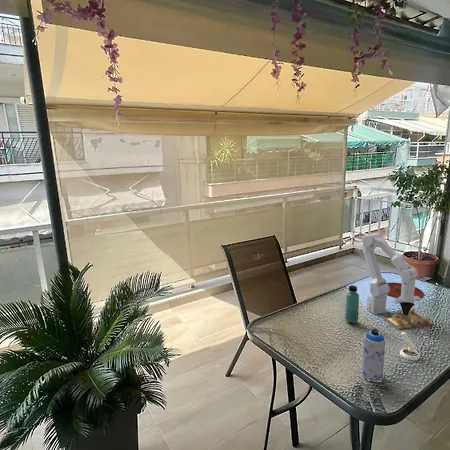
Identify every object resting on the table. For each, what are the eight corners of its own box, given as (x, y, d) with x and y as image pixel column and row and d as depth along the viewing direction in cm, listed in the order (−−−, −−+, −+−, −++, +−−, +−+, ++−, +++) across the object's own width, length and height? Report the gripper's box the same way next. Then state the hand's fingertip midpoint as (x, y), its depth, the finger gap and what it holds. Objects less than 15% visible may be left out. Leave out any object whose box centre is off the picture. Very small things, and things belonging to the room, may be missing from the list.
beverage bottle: (350, 326, 157) (351, 289, 153) (342, 320, 163) (343, 285, 159) (360, 324, 159) (362, 288, 155) (352, 318, 165) (354, 283, 161)
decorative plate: (409, 282, 207) (432, 298, 183) (409, 283, 208) (432, 299, 183) (372, 282, 209) (390, 298, 184) (372, 284, 209) (390, 300, 184)
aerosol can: (369, 367, 126) (372, 322, 122) (387, 378, 119) (391, 331, 115) (356, 373, 122) (359, 328, 118) (374, 385, 115) (377, 337, 111)
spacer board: (398, 329, 152) (399, 323, 151) (381, 317, 164) (381, 311, 164) (433, 324, 156) (433, 318, 155) (413, 313, 168) (414, 307, 167)
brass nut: (404, 322, 157) (405, 318, 156) (397, 323, 156) (397, 319, 155) (397, 318, 162) (397, 313, 161) (390, 319, 161) (390, 314, 160)
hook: (388, 335, 139) (403, 328, 137) (404, 359, 136) (419, 353, 134) (390, 340, 132) (405, 333, 130) (407, 366, 129) (423, 360, 127)
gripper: (400, 295, 151) (398, 320, 154) (426, 291, 154) (423, 316, 156) (390, 289, 158) (388, 313, 161) (415, 286, 161) (412, 310, 163)
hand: (405, 314), depth 159 cm, fingers closed
